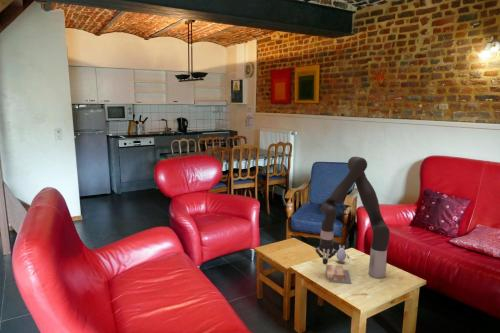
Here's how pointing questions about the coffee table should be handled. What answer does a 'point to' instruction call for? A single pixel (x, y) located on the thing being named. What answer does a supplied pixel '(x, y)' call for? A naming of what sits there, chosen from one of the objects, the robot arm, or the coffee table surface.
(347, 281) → the felt mat
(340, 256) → the toy figure
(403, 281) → the coffee table surface
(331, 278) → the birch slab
